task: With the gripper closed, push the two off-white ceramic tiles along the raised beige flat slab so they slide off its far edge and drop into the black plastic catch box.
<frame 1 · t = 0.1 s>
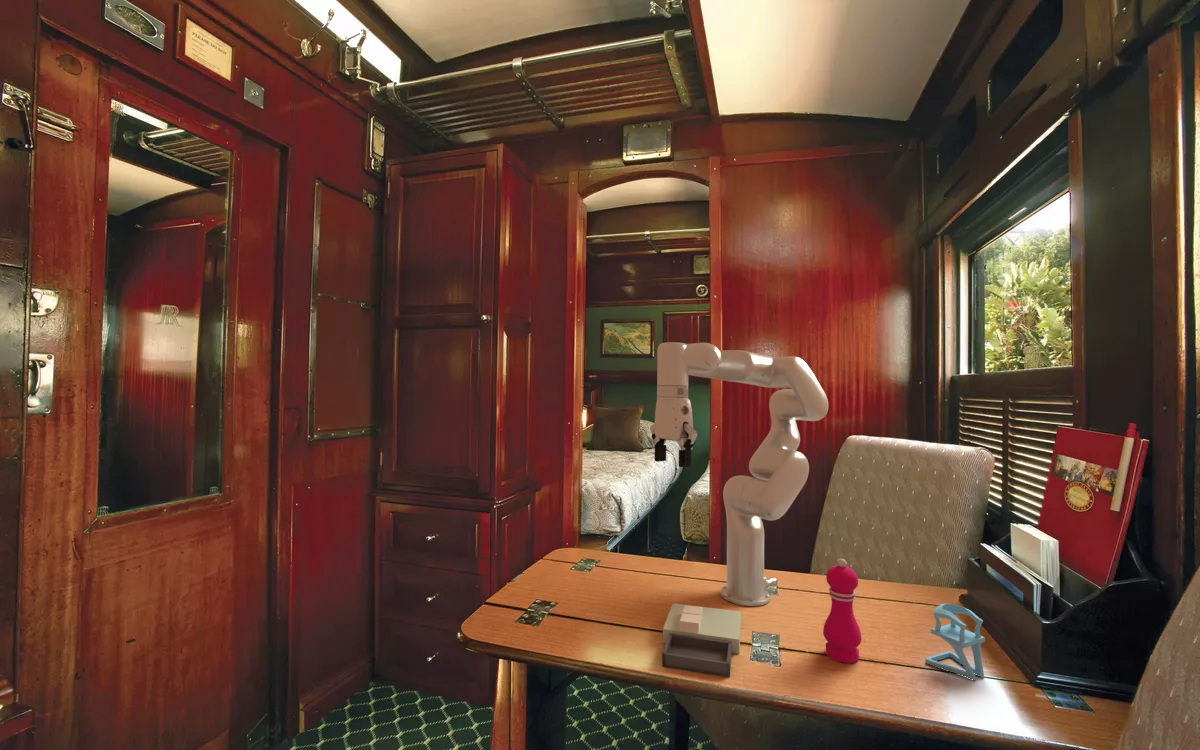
hand: (672, 463, 129), 37 cm above the table, tool pointing down, fingers open, 9 cm apart
phone stand: (957, 669, 105), on the table
beige flat slab: (703, 633, 119), on the table
catch box: (697, 660, 107), on the table
tile rear: (692, 618, 120), point 3 cm above the table, touching beige flat slab
pepper mill: (842, 657, 110), on the table
tile front: (690, 627, 115), point 3 cm above the table, touching beige flat slab
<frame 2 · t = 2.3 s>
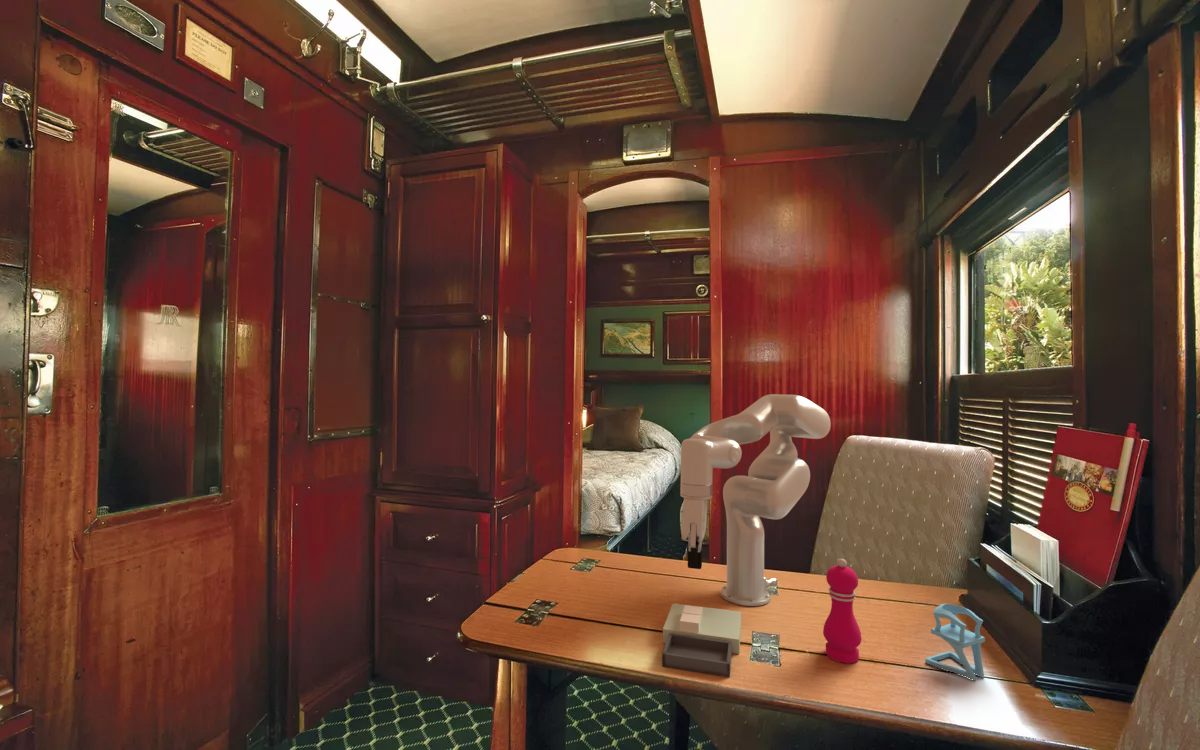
hand: (694, 567, 127), 12 cm above the table, tool pointing down, fingers closed
nothing on the table moved.
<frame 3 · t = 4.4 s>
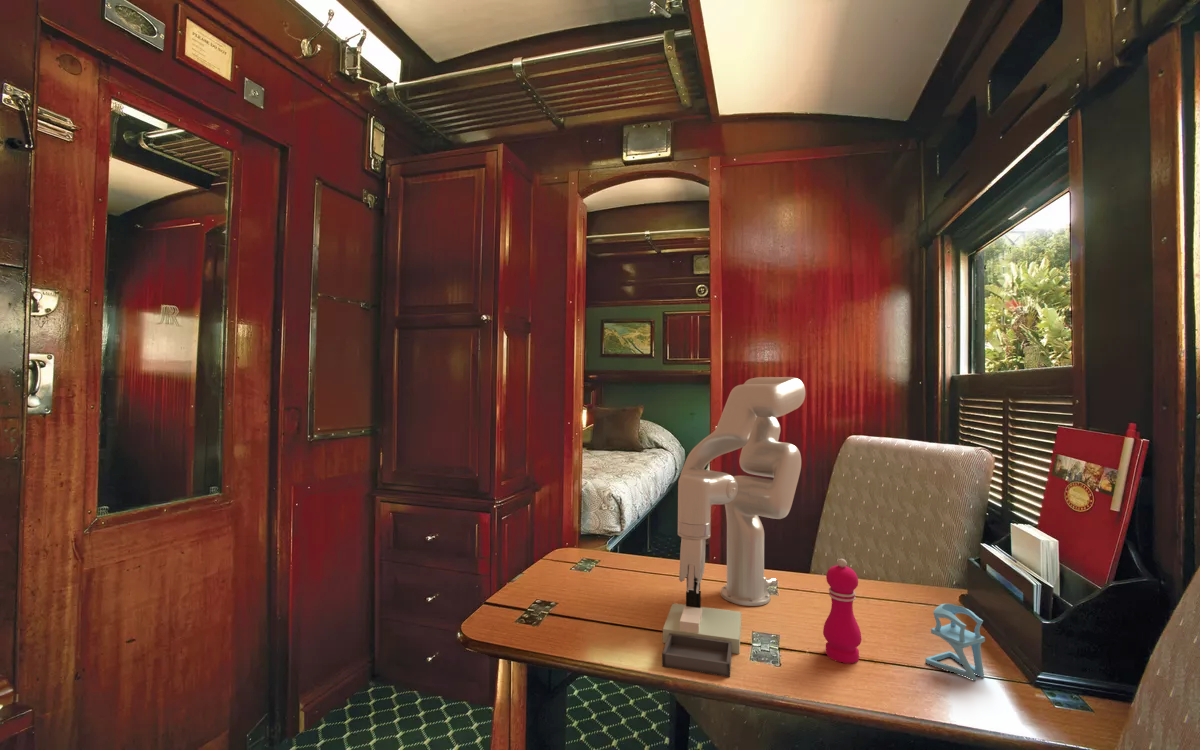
hand: (693, 608, 122), 4 cm above the table, tool pointing down, fingers closed
tile rear: (692, 619, 119), point 3 cm above the table, touching gripper, tile front
tile front: (690, 627, 115), point 3 cm above the table, touching tile rear
everything else where it was.
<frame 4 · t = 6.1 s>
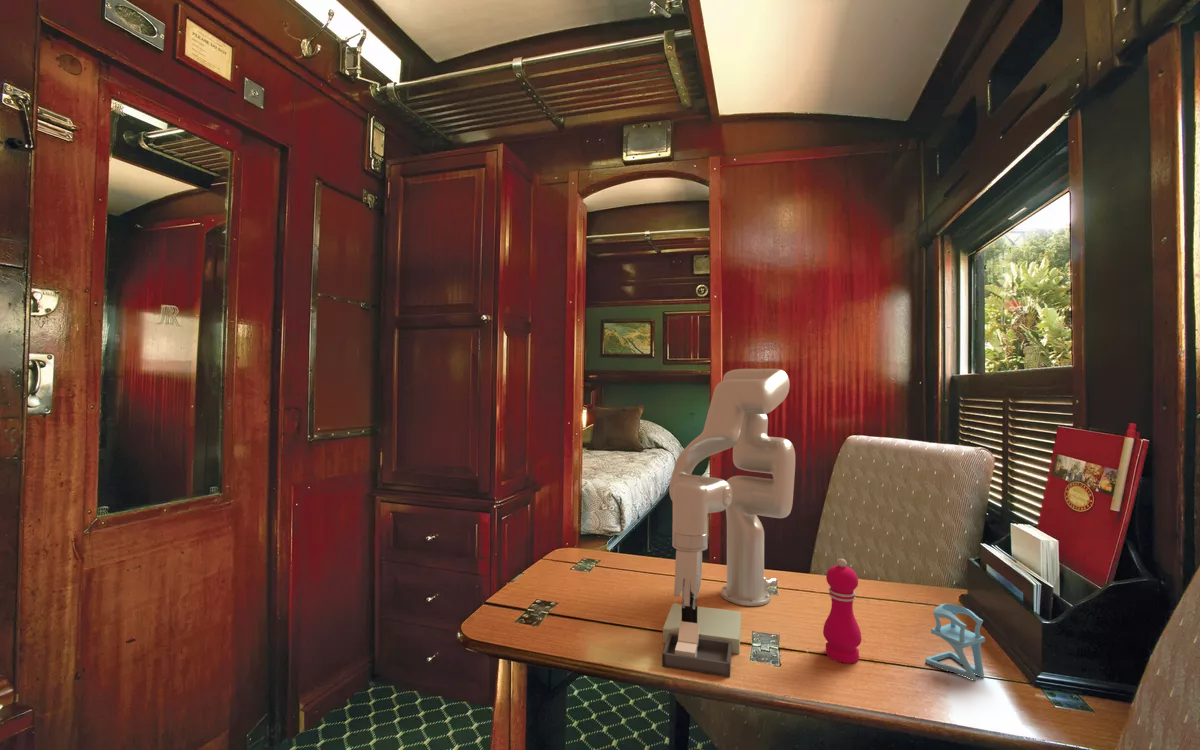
hand: (689, 624, 114), 4 cm above the table, tool pointing down, fingers closed
tile rear: (689, 636, 112), point 3 cm above the table, tilted 42°, touching gripper, tile front
tile front: (686, 646, 108), point 3 cm above the table, tilted 180°, touching catch box, tile rear
everything else where it was.
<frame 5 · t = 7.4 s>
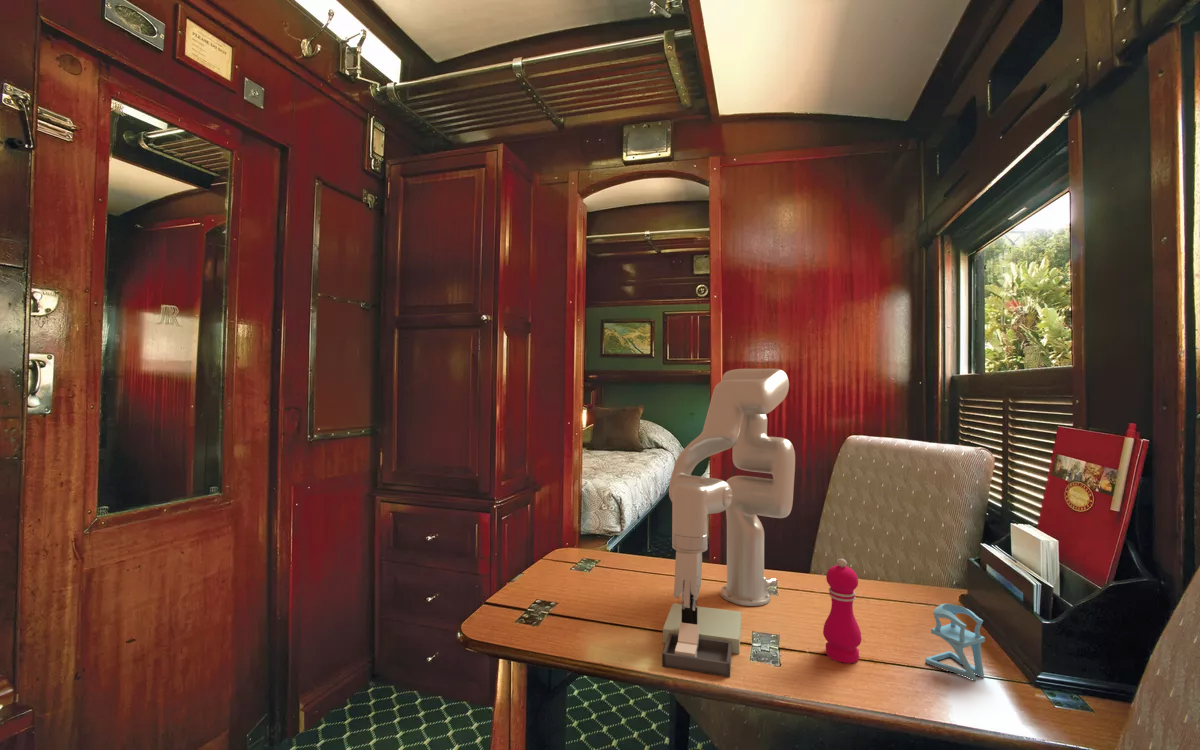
hand: (689, 626, 114), 4 cm above the table, tool pointing down, fingers closed
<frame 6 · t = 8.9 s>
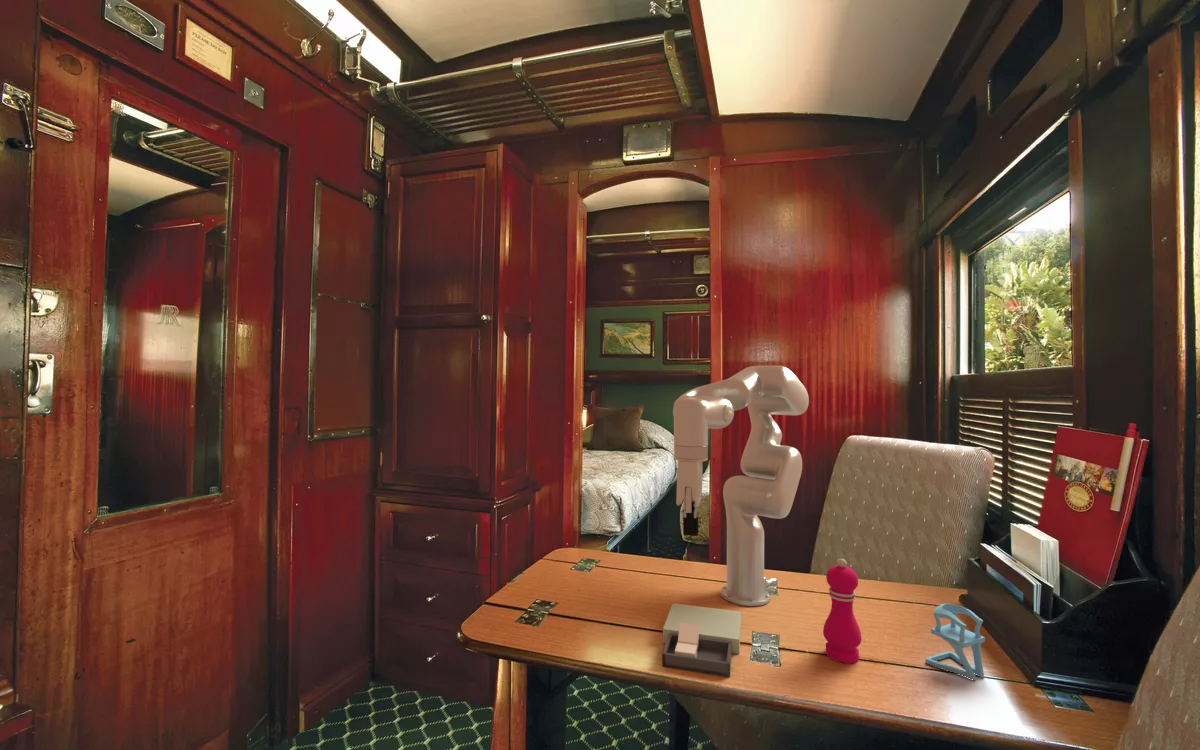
hand: (690, 534, 119), 22 cm above the table, tool pointing down, fingers closed
tile rear: (689, 638, 112), point 2 cm above the table, tilted 35°, touching catch box, tile front
everything else where it was.
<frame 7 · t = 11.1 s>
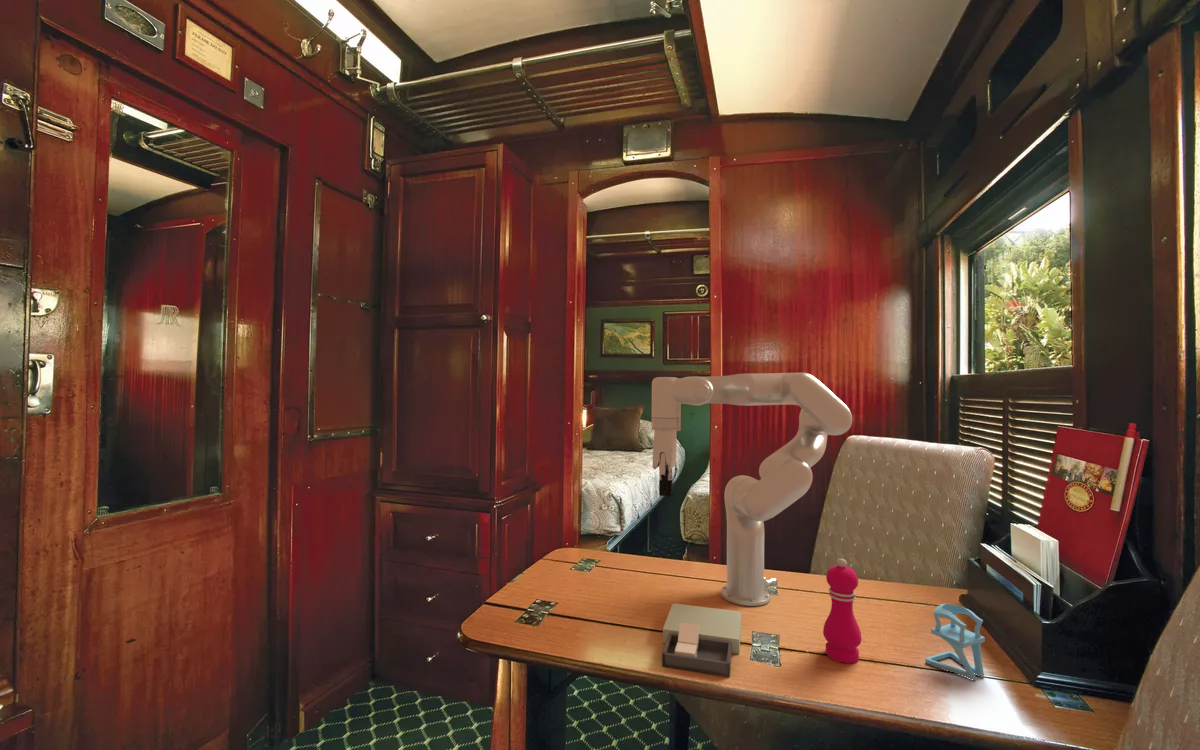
hand: (665, 495, 137), 27 cm above the table, tool pointing down, fingers closed
nothing on the table moved.
at the end: tile front touching catch box, tile rear; tile rear 4.3 cm from the catch box (horizontally); tile rear point 2.4 cm above the table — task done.
